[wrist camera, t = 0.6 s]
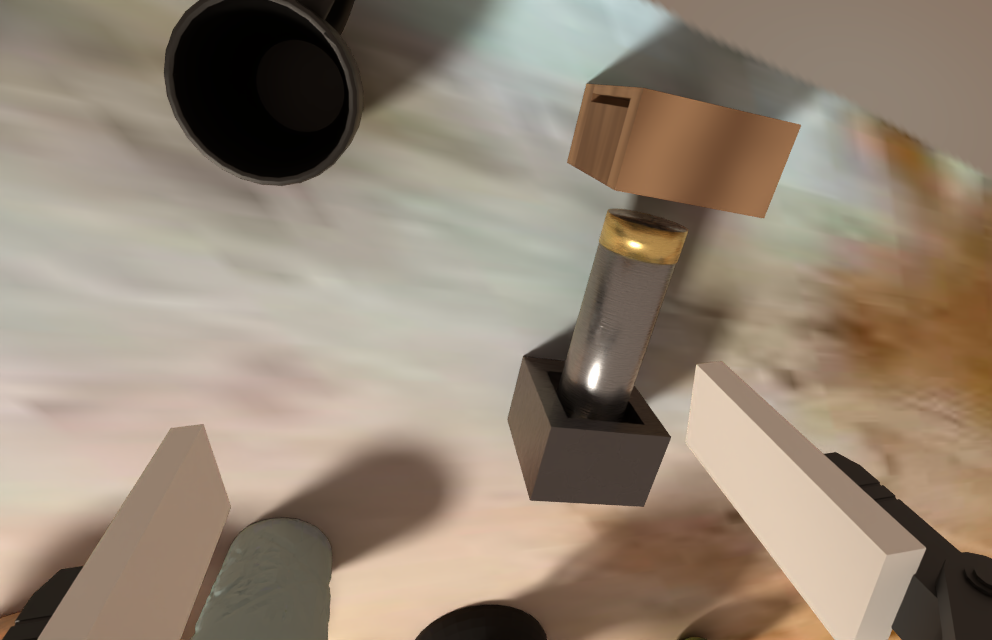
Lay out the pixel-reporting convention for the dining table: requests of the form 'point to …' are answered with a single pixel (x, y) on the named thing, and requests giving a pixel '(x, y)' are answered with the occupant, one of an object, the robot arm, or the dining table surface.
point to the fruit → (695, 638)
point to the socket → (680, 148)
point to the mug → (265, 86)
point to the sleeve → (582, 444)
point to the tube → (618, 313)
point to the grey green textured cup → (271, 585)
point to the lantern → (484, 625)
